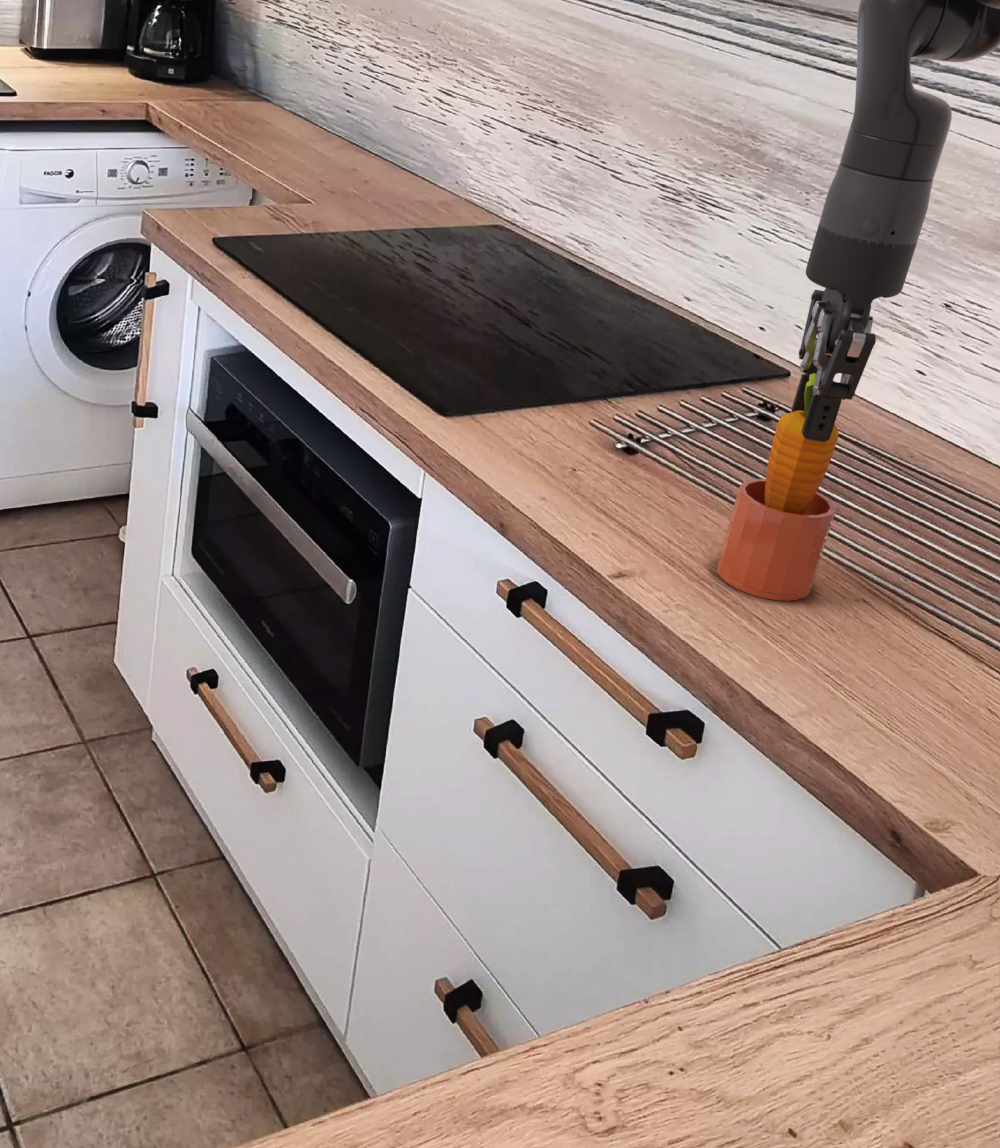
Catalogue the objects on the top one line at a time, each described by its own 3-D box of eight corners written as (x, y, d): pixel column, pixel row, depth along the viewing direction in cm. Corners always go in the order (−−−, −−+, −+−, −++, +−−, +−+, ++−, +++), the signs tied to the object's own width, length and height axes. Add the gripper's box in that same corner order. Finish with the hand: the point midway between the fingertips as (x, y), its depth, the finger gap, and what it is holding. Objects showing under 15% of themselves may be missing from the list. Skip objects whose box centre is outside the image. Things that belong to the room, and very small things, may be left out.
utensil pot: (801, 568, 137) (826, 488, 133) (816, 607, 130) (843, 523, 126) (712, 553, 138) (734, 473, 134) (722, 591, 130) (746, 507, 127)
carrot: (751, 520, 135) (798, 360, 128) (808, 535, 133) (858, 374, 126) (742, 538, 130) (789, 375, 124) (800, 555, 129) (852, 390, 122)
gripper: (940, 256, 113) (871, 466, 120) (897, 216, 125) (838, 408, 133) (837, 241, 113) (776, 450, 121) (805, 202, 126) (752, 394, 134)
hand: (809, 427), depth 127 cm, fingers closed on carrot, 4 cm apart
